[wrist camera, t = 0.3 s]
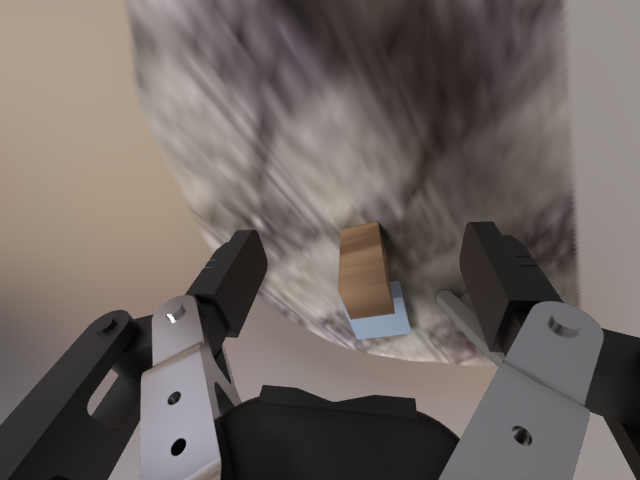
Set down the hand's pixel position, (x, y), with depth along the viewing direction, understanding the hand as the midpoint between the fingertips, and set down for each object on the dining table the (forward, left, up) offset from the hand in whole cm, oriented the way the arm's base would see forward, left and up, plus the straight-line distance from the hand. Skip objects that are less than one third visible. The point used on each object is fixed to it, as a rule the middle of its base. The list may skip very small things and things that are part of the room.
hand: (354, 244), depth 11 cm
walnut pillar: (+14, -2, -19) cm, 24 cm away
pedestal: (+26, -3, -19) cm, 32 cm away
